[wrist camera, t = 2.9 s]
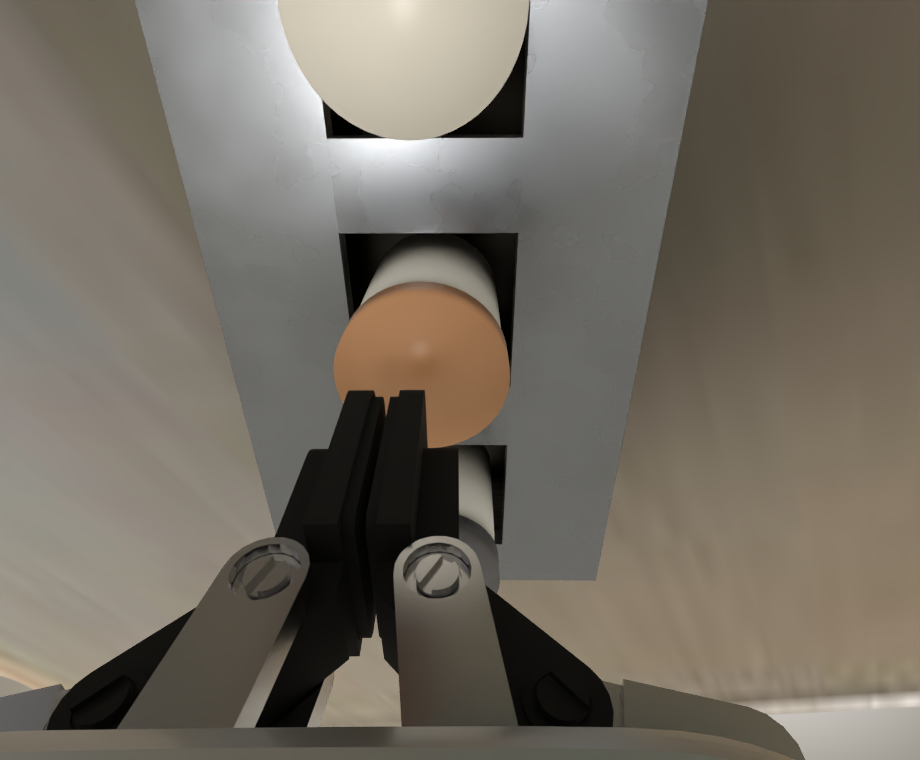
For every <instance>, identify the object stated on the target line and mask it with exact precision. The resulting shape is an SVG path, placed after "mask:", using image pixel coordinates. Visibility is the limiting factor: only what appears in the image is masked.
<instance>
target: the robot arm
mask: <svg viewBox="0 0 920 760" xmlns="http://www.w3.org/2000/svg"><path fill="white" fill-rule="evenodd" d="M376 615H377V623H378V630H379V636H380V638H382V645H383V653H384V659H385V660H386V661H387V662H388V664H389V665H390V666H391V667H392V668H393V669H394V670H395V671H396V672H397V673H398V674H399V686H400V703H401V721H402V727H319V724H320V721H321V718H322V715H323V712H324V710H325V707H326V704H327V701H328V698H329V695H330V692H331V690H332V686H333V681H334V671H335V670H336V669H338V668H339V667H340V666H341V665H342V664H344V663H345V662H346V661H347V660H348V659H349V656H360V650H361V644H362V638H371V637H372V634H373V630H374V623H375V616H376ZM0 760H805V758H804V756H803V754H802V752H801V750H800V747H799V745H798V744H797V742H796V741H795V740H794V739H793V738H792V736H791V735H790V734H789V733H788V732H787V731H786V729H785V728H784V727H783V726H782V725H780V724H779V723H777V722H776V721H775V720H773V719H772V718H771V717H769V716H768V715H767V714H765V713H762V712H760V711H757V710H754V709H752V708H749V707H746V706H741V705H737V704H732V703H728V702H724V701H719V700H715V699H710V698H706V697H701V696H697V695H692V694H688V693H683V692H679V691H674V690H670V689H665V688H661V687H657V686H652V685H648V684H643V683H639V682H634V681H630V680H625V679H623V683H622V685H618V684H613V683H609V682H605V681H602V680H601V679H600V678H599V677H598V676H597V675H596V674H595V673H594V672H593V671H592V670H591V669H590V668H589V667H588V666H587V665H585V664H584V663H583V662H582V661H580V660H579V659H578V658H577V657H575V656H574V655H573V654H572V653H570V652H569V651H568V650H566V649H565V648H564V647H563V646H561V645H560V644H559V643H558V642H556V641H555V640H554V639H553V638H551V637H550V636H549V635H548V634H546V633H545V632H544V631H543V630H541V629H540V628H539V627H538V626H536V625H535V624H534V623H533V622H531V621H530V620H529V619H528V618H526V617H525V616H524V615H523V614H521V613H520V612H519V611H518V610H516V609H515V608H514V607H512V606H511V605H510V604H509V603H507V602H506V601H505V600H504V599H502V598H501V597H500V596H499V595H497V594H496V593H495V592H494V591H492V590H491V589H490V588H489V587H487V586H486V585H485V582H484V578H483V573H482V569H481V565H480V562H479V560H478V557H477V555H476V553H475V552H474V551H473V550H472V549H471V548H470V547H469V546H468V545H467V544H465V543H463V542H462V541H460V540H459V448H428V442H427V420H426V398H425V390H400V392H399V396H398V397H390V400H389V405H388V410H387V415H386V413H385V402H384V397H376V396H375V392H374V390H349V391H348V392H347V395H346V398H345V401H344V404H343V407H342V409H341V412H340V415H339V418H338V421H337V424H336V427H335V430H334V433H333V436H332V439H331V442H330V445H329V448H328V449H311V450H309V452H308V454H307V456H306V458H305V461H304V463H303V466H302V468H301V471H300V474H299V476H298V479H297V481H296V484H295V486H294V489H293V491H292V494H291V496H290V499H289V502H288V504H287V507H286V509H285V512H284V514H283V517H282V519H281V522H280V525H279V527H278V530H277V532H276V535H275V537H271V538H267V539H262V540H258V541H256V542H253V543H251V544H249V545H247V546H245V547H243V548H242V549H241V550H239V551H238V552H237V553H235V554H234V555H233V556H232V557H231V558H230V559H229V560H228V561H227V563H226V564H225V565H224V566H223V568H222V569H221V571H220V572H219V574H218V575H217V577H216V578H215V580H214V581H213V583H212V585H211V586H210V588H209V589H208V591H207V592H206V594H205V595H204V597H203V598H202V600H201V601H200V603H199V604H198V606H197V607H196V608H194V609H193V610H191V611H190V612H188V613H186V614H185V615H183V616H181V617H180V618H178V619H177V620H175V621H173V622H172V623H170V624H169V625H167V626H165V627H164V628H162V629H161V630H159V631H157V632H156V633H154V634H152V635H151V636H149V637H148V638H146V639H144V640H143V641H141V642H140V643H138V644H136V645H135V646H133V647H132V648H130V649H128V650H127V651H125V652H124V653H122V654H120V655H119V656H117V657H115V658H114V659H112V660H111V661H109V662H107V663H106V664H104V665H103V666H101V667H99V668H98V669H96V670H95V671H93V672H91V673H90V674H89V675H87V676H86V677H85V678H83V679H82V680H81V681H79V682H78V683H77V684H75V685H74V686H73V687H72V689H69V690H65V689H64V687H63V686H62V685H61V684H59V685H54V686H50V687H45V688H41V689H36V690H32V691H27V692H23V693H18V694H14V695H9V696H5V697H0Z"/></svg>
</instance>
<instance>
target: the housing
mask: <svg viewBox="0 0 920 760" xmlns="http://www.w3.org/2000/svg"><path fill="white" fill-rule="evenodd" d="M135 3H136V7H137V10H138V14H139V18H140V22H141V25H142V29H143V33H144V37H145V41H146V44H147V48H148V52H149V56H150V60H151V63H152V67H153V71H154V75H155V78H156V82H157V86H158V90H159V94H160V97H161V101H162V105H163V109H164V112H165V116H166V120H167V124H168V128H169V131H170V135H171V139H172V143H173V147H174V150H175V154H176V158H177V162H178V165H179V169H180V173H181V177H182V181H183V184H184V188H185V192H186V196H187V200H188V203H189V207H190V211H191V215H192V218H193V222H194V226H195V230H196V234H197V237H198V241H199V245H200V249H201V252H202V256H203V260H204V264H205V268H206V271H207V275H208V279H209V283H210V287H211V290H212V294H213V298H214V302H215V305H216V309H217V313H218V317H219V321H220V324H221V328H222V332H223V336H224V339H225V343H226V347H227V351H228V355H229V358H230V362H231V366H232V370H233V374H234V377H235V381H236V385H237V389H238V392H239V396H240V400H241V404H242V408H243V411H244V415H245V419H246V423H247V426H248V430H249V434H250V438H251V442H252V445H253V449H254V453H255V457H256V461H257V464H258V468H259V472H260V476H261V479H262V483H263V487H264V491H265V495H266V498H267V502H268V506H269V510H270V513H271V517H272V521H273V525H274V529H275V532H277V530H278V527H279V525H280V522H281V519H282V517H283V514H284V512H285V509H286V507H287V504H288V502H289V499H290V496H291V494H292V491H293V489H294V486H295V484H296V481H297V479H298V476H299V474H300V471H301V468H302V466H303V463H304V461H305V458H306V456H307V454H308V452H309V450H311V449H328V448H329V445H330V442H331V439H332V436H333V433H334V430H335V427H336V424H337V421H338V418H339V415H340V412H341V409H342V407H343V403H342V401H341V399H340V397H339V394H338V392H337V389H336V385H335V381H334V371H333V367H334V357H335V353H336V349H337V347H338V344H339V342H340V339H341V337H342V335H343V333H344V331H345V329H346V326H347V324H348V322H349V321H350V319H351V317H352V316H353V314H354V307H353V299H352V290H351V282H350V274H349V265H348V257H347V248H346V240H345V233H516V243H515V263H514V283H513V303H512V323H511V344H510V364H509V367H510V384H509V390H508V394H507V397H506V400H505V402H504V404H503V407H502V408H501V410H500V411H499V413H498V415H497V416H496V417H495V418H494V419H493V421H492V422H491V423H490V424H489V425H488V426H487V427H485V428H484V429H483V430H482V431H480V432H479V433H478V434H476V435H475V436H473V437H471V438H469V439H467V440H465V441H462V442H460V443H457V444H454V445H505V465H504V477H491V483H492V502H493V520H494V539H495V544H496V546H497V550H498V559H499V576H500V580H596V576H597V571H598V566H599V561H600V555H601V550H602V545H603V540H604V535H605V530H606V524H607V519H608V514H609V509H610V504H611V499H612V493H613V488H614V483H615V478H616V473H617V468H618V463H619V457H620V452H621V447H622V442H623V437H624V432H625V426H626V421H627V416H628V411H629V406H630V401H631V395H632V390H633V385H634V380H635V375H636V370H637V364H638V359H639V354H640V349H641V344H642V339H643V334H644V328H645V323H646V318H647V313H648V308H649V303H650V297H651V292H652V287H653V282H654V277H655V272H656V266H657V261H658V256H659V251H660V246H661V241H662V236H663V230H664V225H665V220H666V215H667V210H668V205H669V199H670V194H671V189H672V184H673V179H674V174H675V168H676V163H677V158H678V153H679V148H680V143H681V137H682V132H683V127H684V122H685V117H686V112H687V107H688V101H689V96H690V91H691V86H692V81H693V76H694V70H695V65H696V60H697V55H698V50H699V45H700V39H701V34H702V29H703V24H704V19H705V14H706V9H707V3H708V0H529V10H528V20H527V26H526V41H525V61H524V81H523V101H522V121H521V134H513V135H441V136H438V137H434V138H429V139H425V140H412V141H408V140H394V139H390V138H385V137H380V136H378V135H333V130H332V122H331V113H330V107H329V106H328V105H327V104H326V103H325V102H324V101H323V100H322V99H321V97H320V96H319V95H318V94H317V93H316V92H315V91H314V89H313V88H312V86H311V85H310V84H309V82H308V81H307V79H306V78H305V77H304V75H303V73H302V71H301V70H300V68H299V66H298V64H297V63H296V61H295V59H294V56H293V54H292V52H291V49H290V47H289V45H288V42H287V39H286V36H285V33H284V30H283V26H282V23H281V18H280V13H279V8H278V2H277V0H135Z"/></svg>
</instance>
